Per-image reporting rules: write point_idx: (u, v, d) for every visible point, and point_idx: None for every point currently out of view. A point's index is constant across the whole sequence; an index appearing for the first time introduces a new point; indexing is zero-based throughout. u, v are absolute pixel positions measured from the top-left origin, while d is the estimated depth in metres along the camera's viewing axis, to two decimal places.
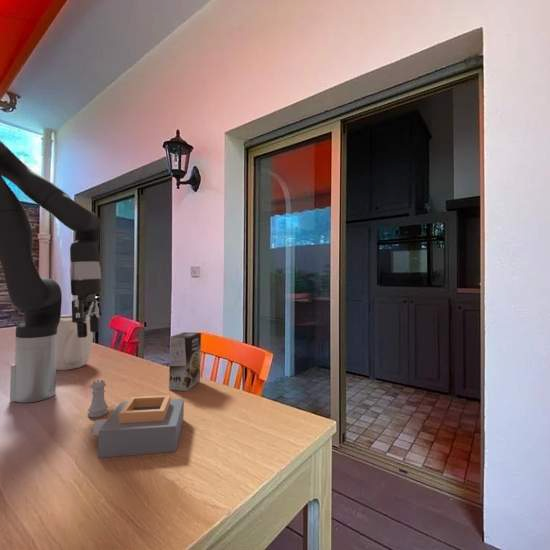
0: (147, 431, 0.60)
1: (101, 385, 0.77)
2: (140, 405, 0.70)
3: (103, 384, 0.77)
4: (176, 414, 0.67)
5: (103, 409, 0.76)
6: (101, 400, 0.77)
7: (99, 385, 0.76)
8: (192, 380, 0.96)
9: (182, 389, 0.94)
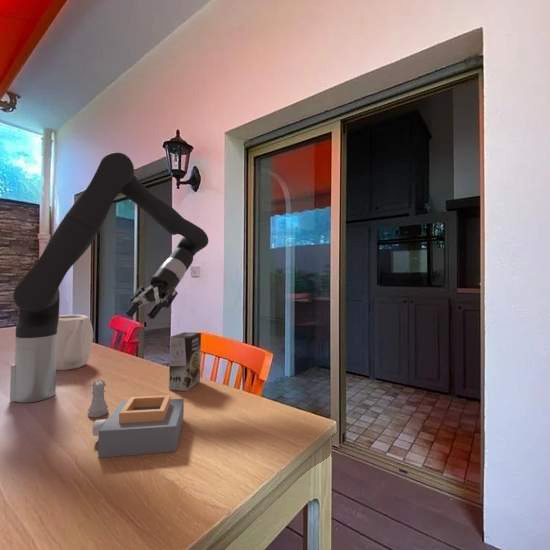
0: (147, 431, 0.60)
1: (101, 385, 0.77)
2: (140, 405, 0.70)
3: (103, 384, 0.77)
4: (176, 414, 0.67)
5: (103, 409, 0.76)
6: (101, 400, 0.77)
7: (99, 385, 0.76)
8: (192, 380, 0.96)
9: (182, 389, 0.94)
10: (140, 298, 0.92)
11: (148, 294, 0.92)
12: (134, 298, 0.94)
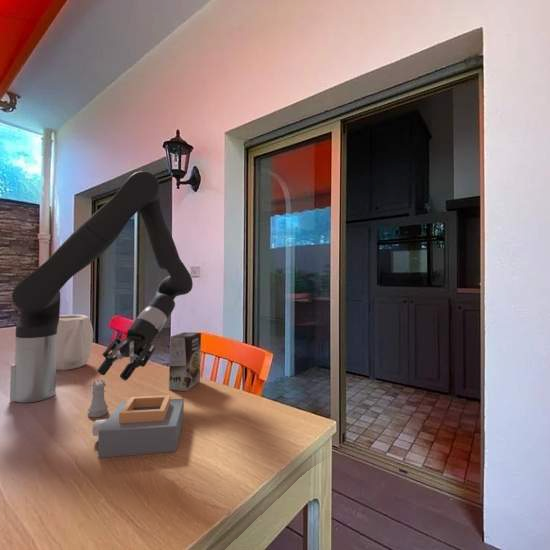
0: (147, 431, 0.60)
1: (101, 385, 0.77)
2: (140, 405, 0.70)
3: (103, 384, 0.77)
4: (176, 414, 0.67)
5: (103, 409, 0.76)
6: (101, 400, 0.77)
7: (99, 385, 0.76)
8: (192, 380, 0.96)
9: (182, 389, 0.94)
10: (114, 353, 0.85)
11: (123, 349, 0.85)
12: (108, 352, 0.86)
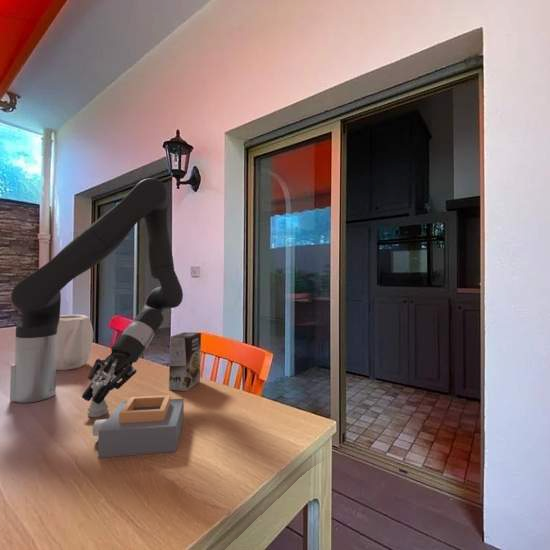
0: (147, 431, 0.60)
1: (101, 385, 0.77)
2: (140, 405, 0.70)
3: (103, 384, 0.77)
4: (176, 414, 0.67)
5: (103, 409, 0.76)
6: None
7: (99, 385, 0.76)
8: (192, 380, 0.96)
9: (182, 389, 0.94)
10: (100, 374, 0.79)
11: (109, 367, 0.80)
12: (94, 374, 0.80)
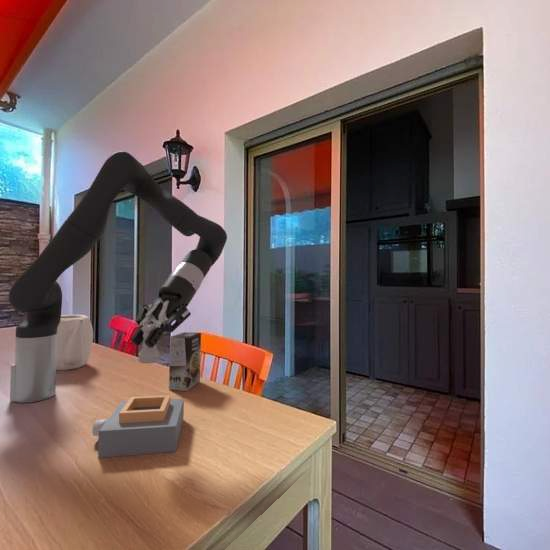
0: (147, 431, 0.60)
1: (153, 327, 0.67)
2: (140, 405, 0.70)
3: (155, 326, 0.67)
4: (176, 414, 0.67)
5: (156, 354, 0.67)
6: None
7: (151, 327, 0.66)
8: (192, 380, 0.96)
9: (182, 389, 0.94)
10: (150, 317, 0.69)
11: (159, 309, 0.70)
12: (142, 318, 0.70)
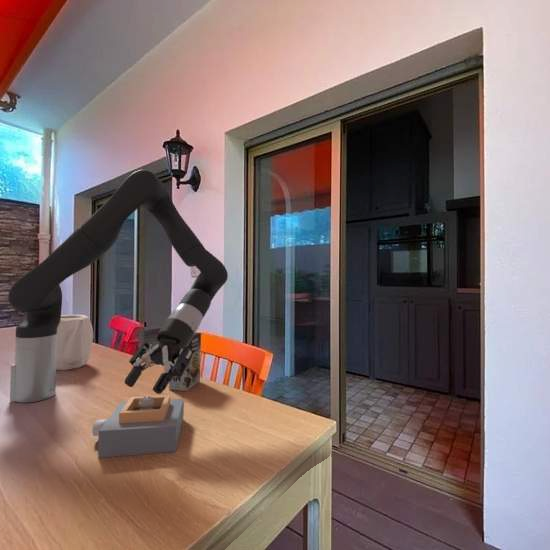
0: (147, 431, 0.60)
1: (150, 402, 0.67)
2: None
3: (152, 401, 0.67)
4: (176, 414, 0.67)
5: None
6: None
7: (148, 402, 0.66)
8: (192, 380, 0.96)
9: (182, 389, 0.94)
10: (144, 360, 0.70)
11: (154, 355, 0.70)
12: None
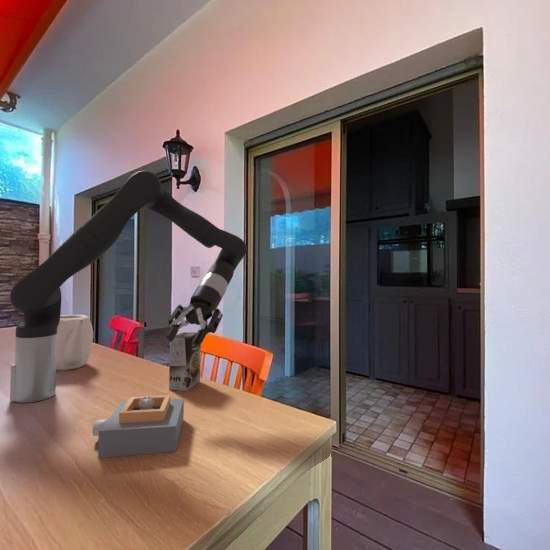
0: (147, 431, 0.60)
1: (150, 403, 0.67)
2: None
3: (152, 401, 0.67)
4: (176, 414, 0.67)
5: None
6: None
7: (148, 403, 0.66)
8: (192, 380, 0.96)
9: (182, 389, 0.94)
10: (180, 320, 0.82)
11: (189, 316, 0.82)
12: None
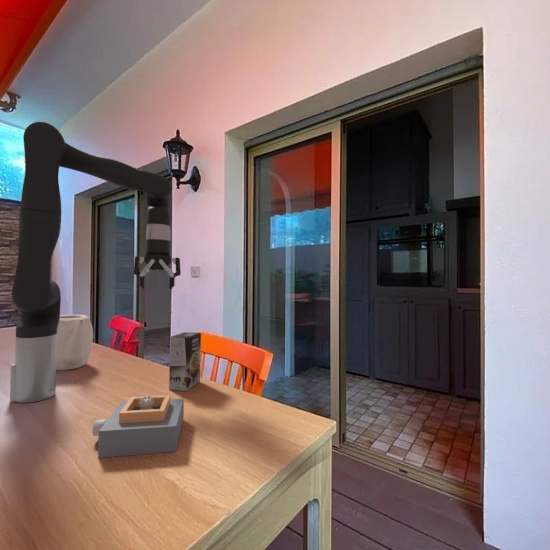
0: (147, 431, 0.60)
1: (150, 402, 0.67)
2: None
3: (152, 401, 0.67)
4: (176, 414, 0.67)
5: None
6: None
7: (148, 402, 0.66)
8: (192, 380, 0.96)
9: (182, 389, 0.94)
10: (147, 271, 1.01)
11: (153, 266, 1.02)
12: (138, 271, 1.01)
